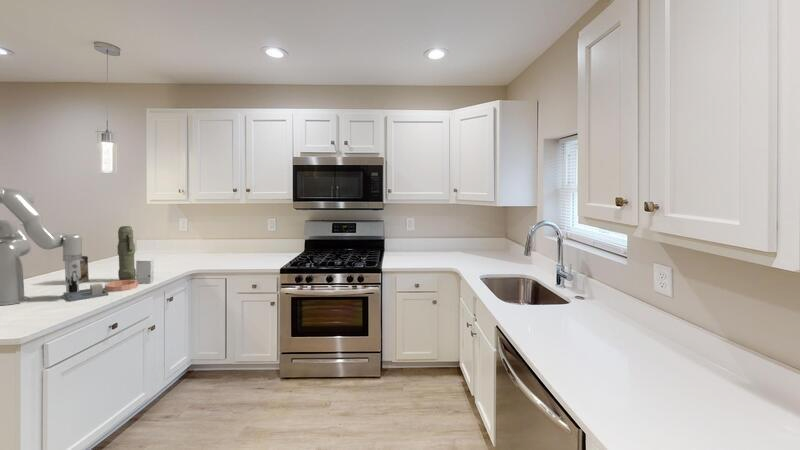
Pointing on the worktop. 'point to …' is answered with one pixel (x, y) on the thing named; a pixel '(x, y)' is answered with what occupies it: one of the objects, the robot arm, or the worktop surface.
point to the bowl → (121, 285)
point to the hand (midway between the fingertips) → (72, 290)
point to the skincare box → (145, 271)
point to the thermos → (126, 254)
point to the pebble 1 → (68, 287)
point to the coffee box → (83, 270)
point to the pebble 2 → (96, 289)
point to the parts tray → (83, 295)
